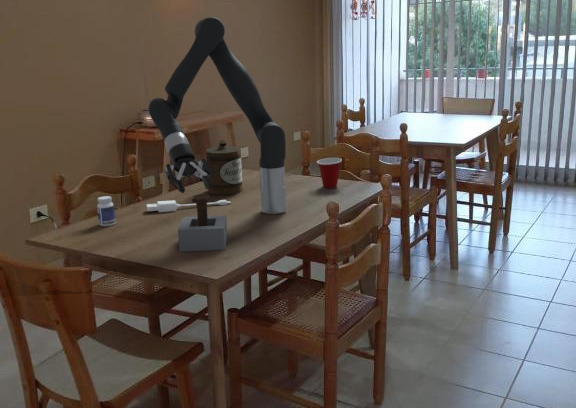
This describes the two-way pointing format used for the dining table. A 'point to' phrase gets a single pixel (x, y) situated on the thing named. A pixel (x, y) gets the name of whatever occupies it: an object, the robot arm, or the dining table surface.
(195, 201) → the bolt
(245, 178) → the dining table surface
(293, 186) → the dining table surface
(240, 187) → the wooden container
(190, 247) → the holder
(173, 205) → the charging cable
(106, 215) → the pill bottle
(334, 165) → the plastic cup
